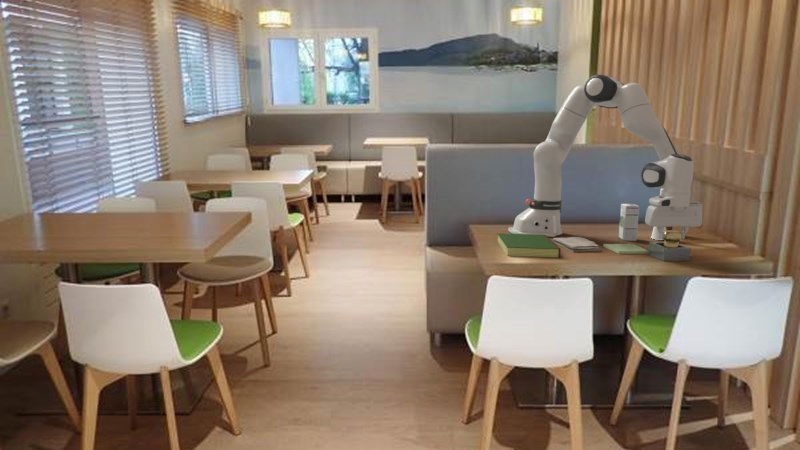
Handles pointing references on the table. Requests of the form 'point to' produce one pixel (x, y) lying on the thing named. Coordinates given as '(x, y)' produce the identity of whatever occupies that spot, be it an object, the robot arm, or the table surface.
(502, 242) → the hardcover book
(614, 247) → the pad
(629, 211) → the syrup box
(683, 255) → the box
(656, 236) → the cosmetic bottle
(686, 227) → the robot arm
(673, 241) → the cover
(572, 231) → the table surface
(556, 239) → the washcloth
